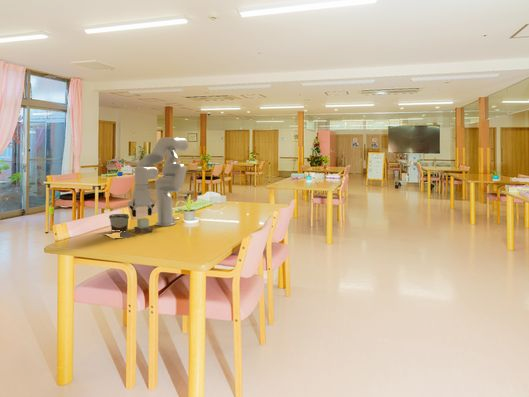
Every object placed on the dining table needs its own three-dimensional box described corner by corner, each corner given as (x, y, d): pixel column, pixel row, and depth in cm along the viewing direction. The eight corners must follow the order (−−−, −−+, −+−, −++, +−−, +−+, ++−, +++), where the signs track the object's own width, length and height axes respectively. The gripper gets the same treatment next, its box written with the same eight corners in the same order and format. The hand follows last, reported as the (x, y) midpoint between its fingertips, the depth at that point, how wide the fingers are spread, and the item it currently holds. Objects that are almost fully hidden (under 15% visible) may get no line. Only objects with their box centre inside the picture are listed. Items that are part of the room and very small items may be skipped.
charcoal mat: (123, 232, 236) (123, 231, 236) (134, 236, 225) (134, 235, 225) (103, 234, 228) (103, 234, 228) (114, 239, 217) (114, 238, 217)
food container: (133, 229, 244) (132, 213, 242) (128, 231, 238) (128, 215, 236) (114, 229, 245) (113, 213, 244) (109, 231, 239) (108, 215, 238)
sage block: (145, 230, 240) (145, 218, 239) (149, 232, 237) (148, 219, 236) (137, 232, 237) (137, 219, 236) (141, 233, 233) (140, 220, 232)
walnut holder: (146, 230, 242) (146, 225, 242) (152, 232, 236) (152, 227, 236) (134, 231, 237) (134, 227, 237) (140, 233, 231) (139, 228, 231)
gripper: (152, 186, 242) (152, 214, 243) (124, 187, 230) (125, 216, 232) (157, 187, 236) (158, 215, 238) (130, 188, 225) (130, 217, 226)
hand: (142, 215), depth 235 cm, fingers open, 9 cm apart
